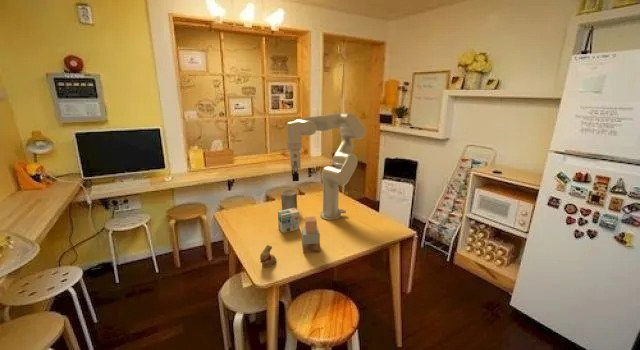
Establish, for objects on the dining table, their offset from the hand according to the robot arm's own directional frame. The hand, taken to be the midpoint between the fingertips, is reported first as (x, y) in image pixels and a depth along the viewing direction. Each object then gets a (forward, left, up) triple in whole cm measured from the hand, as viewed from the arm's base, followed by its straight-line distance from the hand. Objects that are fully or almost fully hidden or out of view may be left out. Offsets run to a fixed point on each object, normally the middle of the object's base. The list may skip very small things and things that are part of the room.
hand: (295, 178), depth 151 cm
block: (-6, +20, -20) cm, 29 cm away
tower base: (-6, +20, -31) cm, 37 cm away
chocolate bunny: (+14, +31, -31) cm, 46 cm away
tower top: (-6, +20, -26) cm, 33 cm away
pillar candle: (+3, -24, -31) cm, 39 cm away
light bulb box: (+4, -2, -31) cm, 31 cm away
